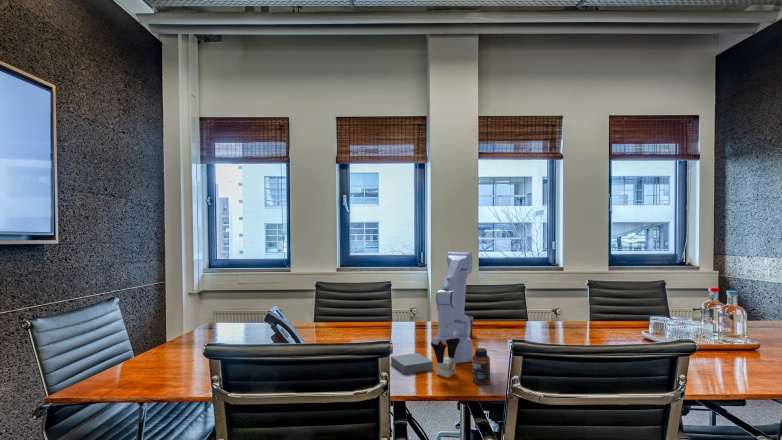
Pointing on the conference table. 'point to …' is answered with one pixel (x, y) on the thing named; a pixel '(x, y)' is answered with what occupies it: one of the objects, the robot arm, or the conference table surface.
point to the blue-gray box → (411, 363)
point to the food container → (470, 323)
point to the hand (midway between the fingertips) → (445, 360)
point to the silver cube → (445, 368)
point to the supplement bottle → (481, 367)
